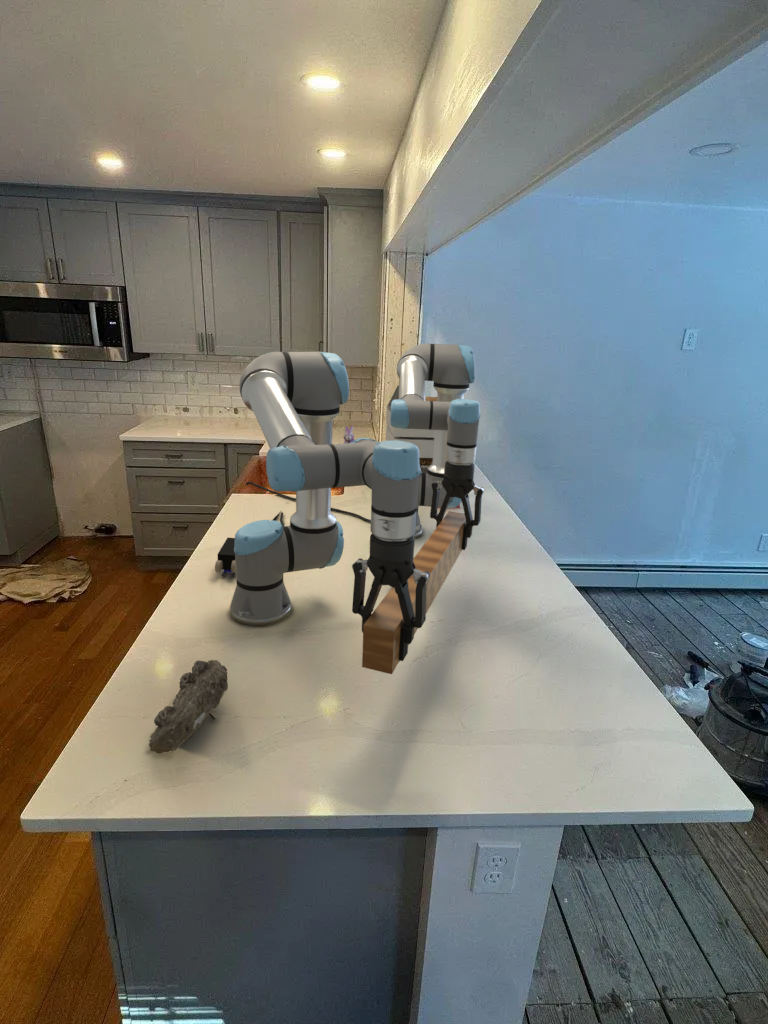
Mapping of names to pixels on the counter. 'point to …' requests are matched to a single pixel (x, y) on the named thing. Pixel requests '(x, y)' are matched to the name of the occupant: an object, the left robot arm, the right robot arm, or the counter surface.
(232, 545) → the black toy vehicle
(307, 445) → the left robot arm
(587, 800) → the counter surface
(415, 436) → the grey wooden crate
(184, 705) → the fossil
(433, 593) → the post
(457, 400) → the right robot arm
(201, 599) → the counter surface
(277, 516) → the feather
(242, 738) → the counter surface
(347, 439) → the figurine
